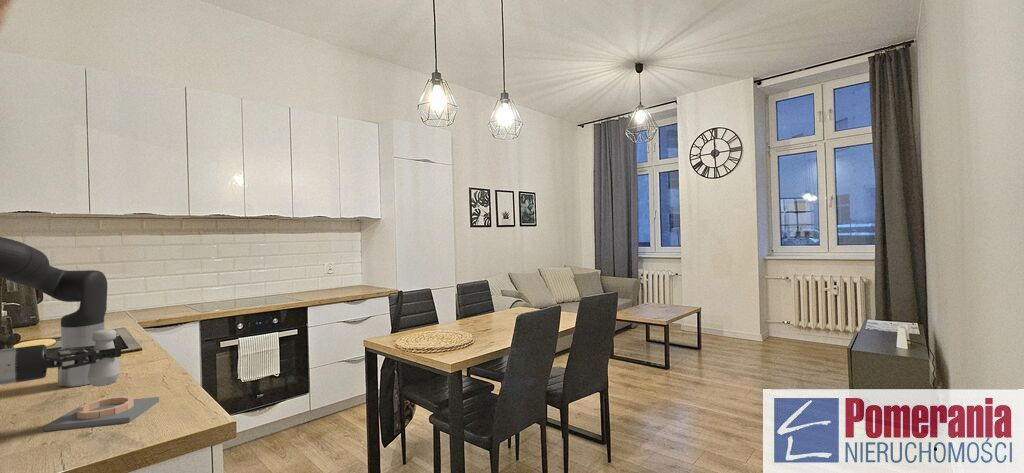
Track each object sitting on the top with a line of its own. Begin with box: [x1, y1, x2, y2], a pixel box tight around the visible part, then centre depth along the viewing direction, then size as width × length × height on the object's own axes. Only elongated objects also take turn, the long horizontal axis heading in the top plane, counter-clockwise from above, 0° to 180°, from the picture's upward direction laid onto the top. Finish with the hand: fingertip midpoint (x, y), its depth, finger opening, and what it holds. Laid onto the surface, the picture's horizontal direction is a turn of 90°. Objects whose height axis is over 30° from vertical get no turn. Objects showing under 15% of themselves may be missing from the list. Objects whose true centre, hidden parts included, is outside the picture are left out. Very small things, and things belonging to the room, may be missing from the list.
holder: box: [43, 395, 160, 432], centre depth 106 cm, size 16×13×3 cm
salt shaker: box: [88, 328, 121, 388], centre depth 105 cm, size 6×6×13 cm
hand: (120, 350), depth 107 cm, fingers closed on salt shaker, 3 cm apart
